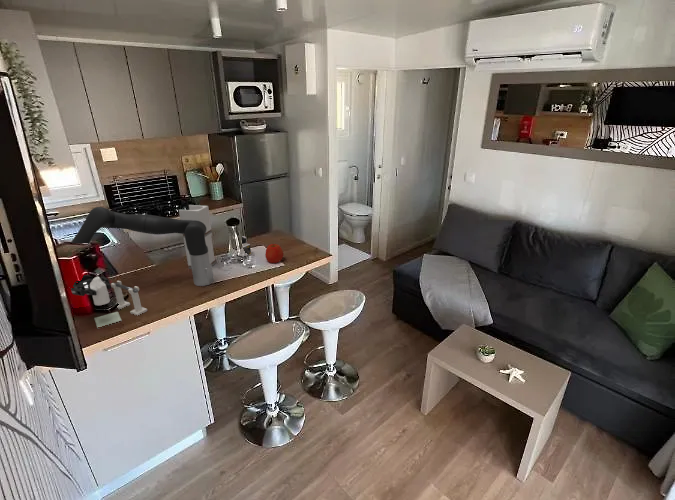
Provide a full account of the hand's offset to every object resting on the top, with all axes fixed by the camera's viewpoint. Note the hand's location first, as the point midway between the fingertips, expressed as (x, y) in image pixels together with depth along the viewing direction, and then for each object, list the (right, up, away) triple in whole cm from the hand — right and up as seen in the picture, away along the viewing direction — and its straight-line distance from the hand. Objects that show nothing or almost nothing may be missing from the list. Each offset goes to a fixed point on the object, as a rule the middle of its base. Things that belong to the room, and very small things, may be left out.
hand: (102, 289), depth 150 cm
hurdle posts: (+3, -11, +16) cm, 19 cm away
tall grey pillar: (+19, +7, +60) cm, 64 cm away
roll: (-2, -6, +4) cm, 7 cm away
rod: (+3, -1, +12) cm, 12 cm away
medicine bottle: (+39, +13, +75) cm, 86 cm away
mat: (-2, -14, +7) cm, 16 cm away
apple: (+60, +10, +67) cm, 91 cm away
